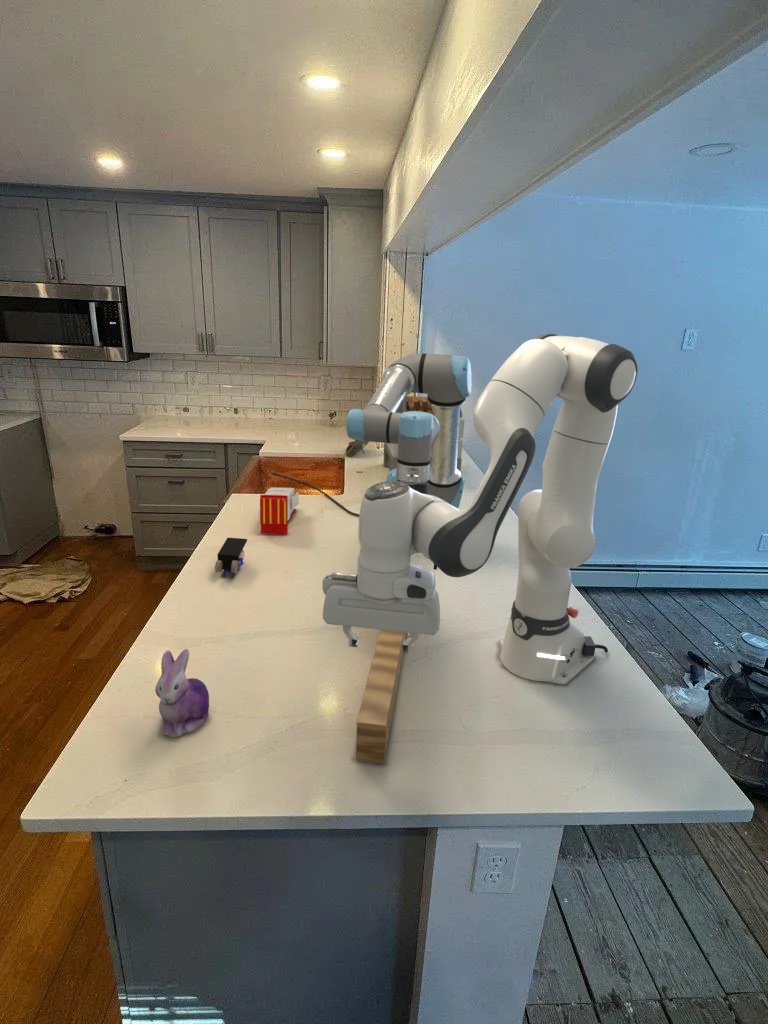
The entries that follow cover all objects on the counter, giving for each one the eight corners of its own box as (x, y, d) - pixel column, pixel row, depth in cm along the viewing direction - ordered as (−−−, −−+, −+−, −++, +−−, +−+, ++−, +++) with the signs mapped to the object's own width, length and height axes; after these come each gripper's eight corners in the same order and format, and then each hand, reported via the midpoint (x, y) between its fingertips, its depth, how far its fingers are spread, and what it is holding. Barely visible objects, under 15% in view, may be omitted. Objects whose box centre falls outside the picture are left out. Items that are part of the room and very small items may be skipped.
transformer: (382, 463, 289) (386, 382, 275) (445, 464, 293) (451, 384, 279) (390, 482, 257) (394, 392, 243) (460, 483, 261) (468, 394, 247)
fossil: (345, 440, 316) (366, 424, 311) (356, 453, 319) (377, 438, 314) (339, 453, 297) (361, 437, 292) (350, 467, 300) (373, 452, 295)
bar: (390, 611, 149) (392, 583, 146) (409, 613, 148) (411, 585, 145) (355, 759, 99) (356, 722, 97) (384, 763, 99) (386, 725, 96)
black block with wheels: (238, 584, 162) (249, 557, 175) (236, 562, 158) (247, 536, 172) (215, 584, 161) (227, 556, 175) (212, 561, 158) (225, 535, 171)
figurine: (162, 747, 100) (154, 675, 95) (155, 711, 109) (147, 644, 103) (217, 731, 104) (212, 662, 99) (206, 698, 113) (201, 633, 108)
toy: (300, 483, 219) (290, 497, 190) (300, 516, 222) (290, 535, 192) (269, 482, 219) (254, 495, 189) (269, 515, 221) (254, 534, 192)
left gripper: (356, 481, 127) (353, 567, 134) (467, 489, 125) (459, 576, 132) (360, 472, 134) (358, 554, 141) (466, 479, 132) (458, 562, 139)
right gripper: (318, 579, 93) (318, 651, 98) (442, 592, 91) (436, 664, 96) (326, 563, 99) (326, 632, 104) (443, 574, 97) (437, 644, 102)
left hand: (407, 565), depth 137 cm, fingers open, 13 cm apart
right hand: (379, 648), depth 100 cm, fingers open, 8 cm apart
